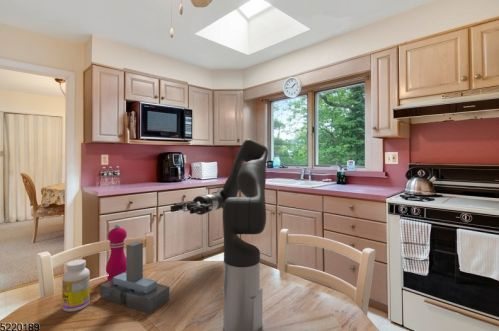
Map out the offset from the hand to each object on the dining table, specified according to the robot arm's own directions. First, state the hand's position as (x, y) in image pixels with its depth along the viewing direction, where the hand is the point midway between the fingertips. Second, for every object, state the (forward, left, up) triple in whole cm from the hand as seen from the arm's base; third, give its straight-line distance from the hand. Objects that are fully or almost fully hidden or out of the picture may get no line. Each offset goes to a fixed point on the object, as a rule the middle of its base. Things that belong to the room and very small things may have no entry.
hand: (180, 210), depth 93 cm
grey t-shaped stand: (+4, +17, -24) cm, 30 cm away
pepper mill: (+20, +10, -25) cm, 34 cm away
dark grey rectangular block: (+4, +17, -25) cm, 30 cm away
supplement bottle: (+16, +27, -25) cm, 40 cm away
